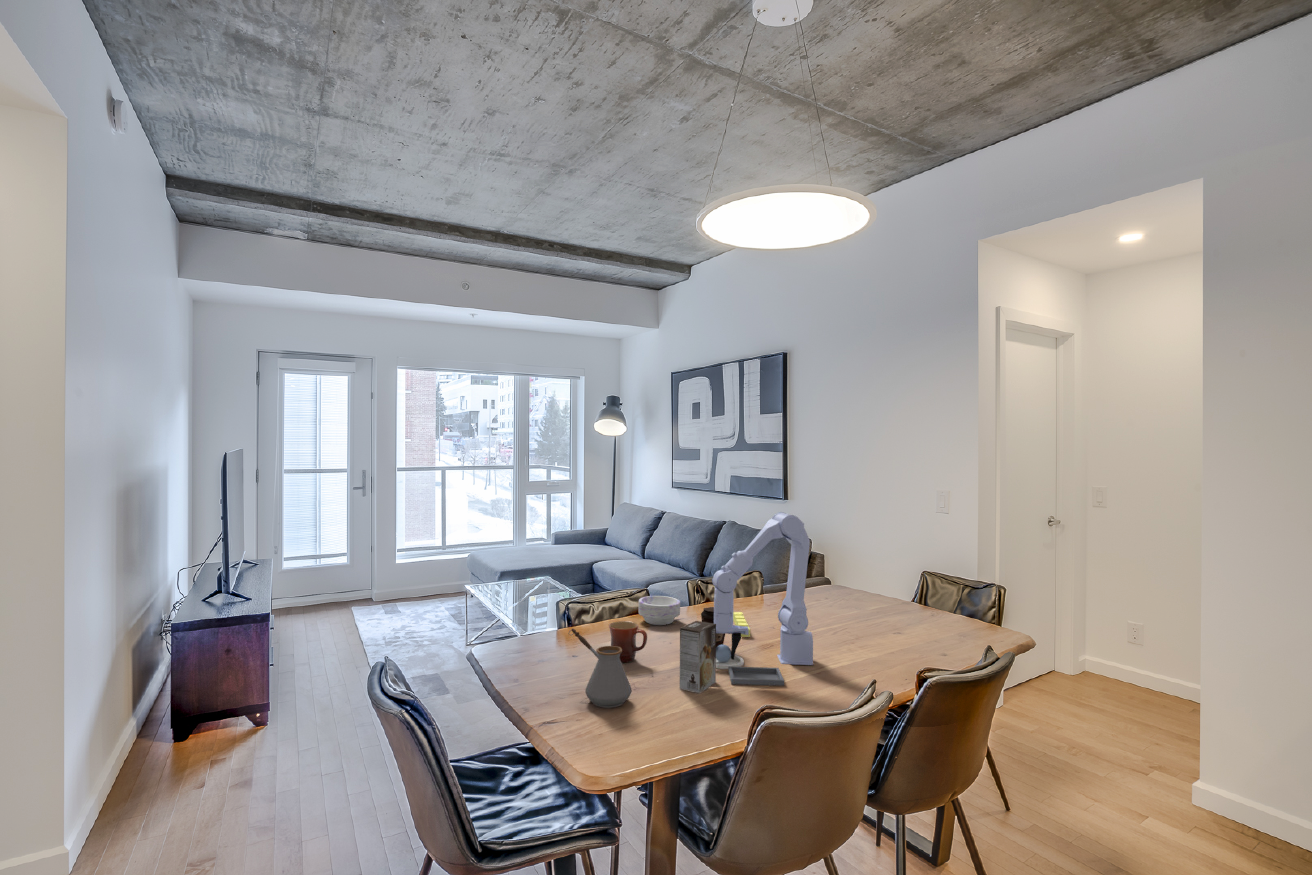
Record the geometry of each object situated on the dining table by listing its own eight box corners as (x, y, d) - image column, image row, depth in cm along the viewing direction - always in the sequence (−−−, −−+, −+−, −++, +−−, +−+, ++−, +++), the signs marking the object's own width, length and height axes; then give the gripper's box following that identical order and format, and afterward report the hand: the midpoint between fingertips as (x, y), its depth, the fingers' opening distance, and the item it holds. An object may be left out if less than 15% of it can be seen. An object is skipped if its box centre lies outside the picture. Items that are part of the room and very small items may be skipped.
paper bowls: (681, 627, 228) (681, 605, 229) (637, 627, 228) (638, 604, 228) (678, 616, 244) (679, 595, 244) (638, 616, 243) (638, 594, 243)
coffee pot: (641, 702, 161) (642, 641, 161) (605, 715, 153) (606, 651, 153) (587, 679, 176) (588, 623, 176) (552, 690, 168) (553, 631, 168)
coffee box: (695, 678, 178) (696, 619, 178) (716, 683, 175) (717, 623, 175) (678, 688, 170) (679, 627, 171) (700, 694, 167) (701, 631, 167)
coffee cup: (725, 655, 198) (726, 613, 198) (698, 653, 200) (699, 611, 200) (728, 647, 207) (729, 606, 207) (702, 645, 208) (703, 604, 209)
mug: (602, 661, 191) (603, 626, 191) (616, 653, 199) (617, 619, 199) (639, 668, 186) (640, 632, 186) (652, 659, 194) (653, 624, 194)
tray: (778, 674, 183) (778, 667, 183) (784, 687, 173) (784, 680, 173) (728, 672, 183) (728, 666, 183) (731, 685, 173) (731, 678, 173)
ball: (730, 659, 194) (730, 642, 194) (732, 664, 189) (732, 647, 189) (713, 658, 194) (714, 642, 194) (714, 664, 189) (715, 647, 189)
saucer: (741, 657, 197) (741, 653, 197) (745, 670, 185) (745, 666, 185) (701, 656, 197) (701, 652, 197) (703, 669, 185) (703, 665, 185)
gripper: (746, 608, 195) (746, 654, 195) (698, 607, 196) (697, 653, 196) (749, 614, 188) (748, 662, 188) (699, 613, 189) (698, 660, 188)
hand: (722, 658), depth 191 cm, fingers closed on ball, 5 cm apart
